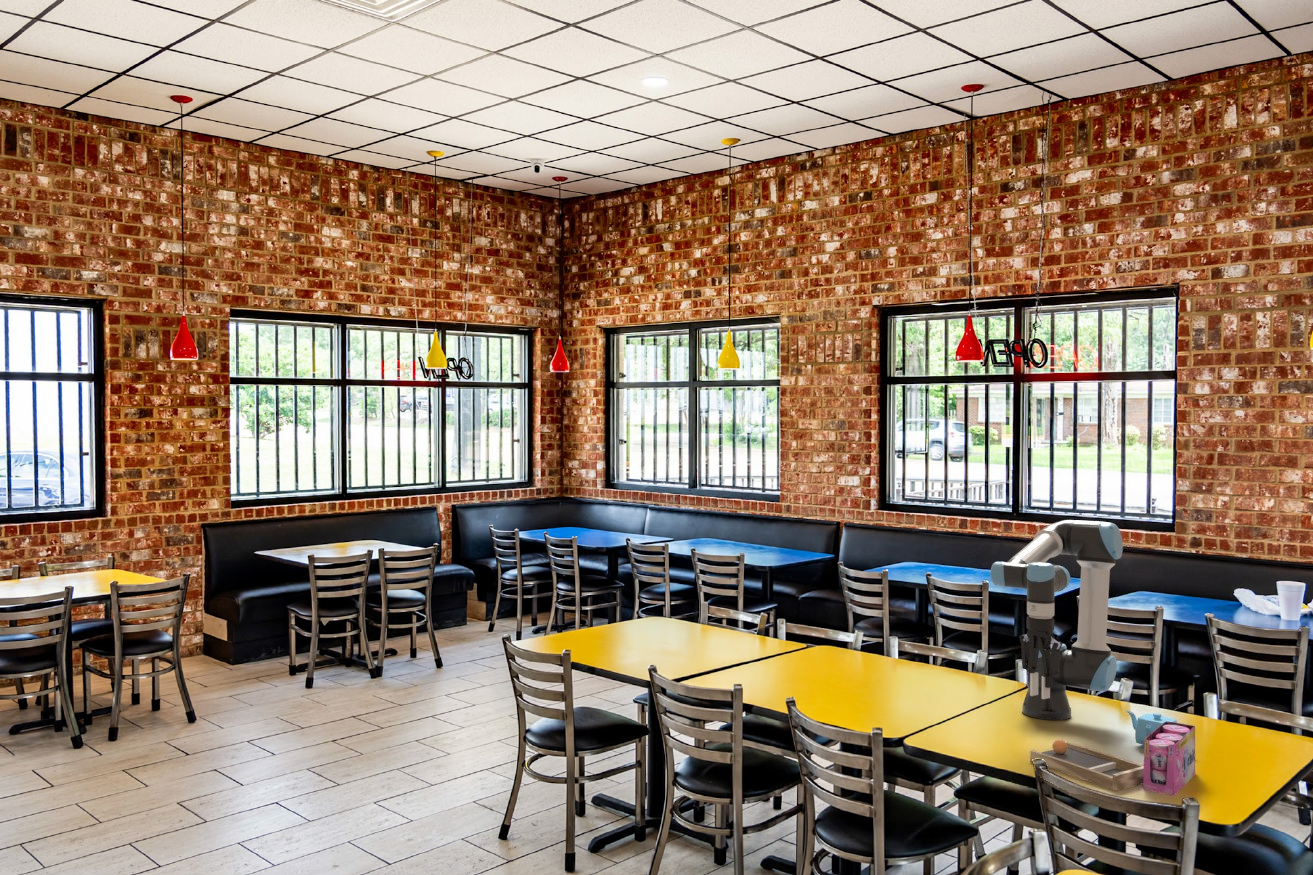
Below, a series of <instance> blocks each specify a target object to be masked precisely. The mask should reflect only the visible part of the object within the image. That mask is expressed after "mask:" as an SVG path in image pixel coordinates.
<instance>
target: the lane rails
mask: <svg viewBox="0 0 1313 875" xmlns="http://www.w3.org/2000/svg"><path fill="white" fill-rule="evenodd" d="M1065 742H1066V744H1067V747H1068V748H1071V749H1075V750H1078V751H1081V752H1084V753H1087V754H1090V755H1093V756H1097V757H1100V758H1103V759H1106V760H1109V761H1112V762H1115V763H1116V768H1117V769H1120V770H1124V771H1123V772H1120V773H1116V774H1113V776H1110V775H1107V774H1104V773H1101V772H1098V771H1095V770H1092V769H1089V768H1086V767H1083V766H1080V765H1077V764H1074V763H1071V762H1068V761H1065V760H1062V759H1058V758H1055V757H1052V756H1049V755H1046V754H1043V753H1041V752H1040V751H1037V750H1035V749H1033V750H1030V752H1029V753H1030V754H1029V755H1030V756H1029V757H1030V760H1029V761H1030V762H1031V761H1032V759H1035V758H1041V759H1044V760H1045V761H1046V763H1047V765H1048V767H1047V768H1049V769H1051V770H1054V771H1057V772H1061V773H1063V774H1066V775H1069V776H1072V777H1074V778H1078V779H1081V780H1084V781H1087V782H1088V783H1089V782H1090V783H1092V784H1096V785H1098V786H1101V787H1104V788H1106V789H1109V790H1112V791H1115V792H1118V791H1121V790H1125V789H1129V788H1132V787H1136V786H1138V785H1143V773H1144V764H1140V763H1137V762H1134V761H1130V760H1128V759H1124V758H1122V757H1117V756H1114V755H1111V754H1109V753H1106V752H1105V753H1104V752H1101V751H1098V750H1095V749H1092V748H1089V747H1086V746H1082V745H1080V744H1075V743H1073V742H1070V741H1065Z"/></svg>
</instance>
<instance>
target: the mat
mask: <svg viewBox="0 0 1313 875" xmlns="http://www.w3.org/2000/svg"><path fill="white" fill-rule="evenodd" d="M1040 753H1043V754H1046V755H1049V756H1052V757H1055V758H1058V759H1062V760H1065V761H1068V762H1071V763H1074V764H1077V765H1080V766H1083V767H1086V768H1089V769H1092V770H1095V771H1098V772H1101V773H1104V774H1107V775H1110V776H1113V774H1116V773H1120V772H1123V771H1124V770H1120V769H1117V768H1116V763H1115V762H1112V761H1109V760H1106V759H1103V758H1100V757H1097V756H1093V755H1090V754H1087V753H1084V752H1081V751H1078V750H1075V749H1071V748H1068V749H1067V751H1066V752H1065V753H1064V754H1058V753H1056V752H1055V751H1054V750H1053V749H1050V750H1046V751H1042V752H1040Z"/></svg>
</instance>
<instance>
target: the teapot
mask: <svg viewBox="0 0 1313 875" xmlns="http://www.w3.org/2000/svg"><path fill="white" fill-rule="evenodd" d="M1125 712H1126V713H1127V714H1129V716H1130V718H1131V724H1132V728H1133V729H1134V731H1135V734H1134V735H1135V736H1134V738H1135V742H1136V743H1137V744H1140V745H1142V746H1141V749H1144V744H1145V738H1146V737H1147V736H1149V735H1150V734H1151V733H1152V732H1154V731H1155V730H1156V729H1157V728H1158V727H1160V726H1161V725H1162V724H1163V723H1164V722H1166V721H1168V722H1175V723H1178V720H1177V719H1176V718H1173V717H1167V716H1164V715H1162V713H1159V712H1154V713H1146V714H1143V715H1140V716H1139V717H1136V714H1135V713H1134V712H1133V711H1130V710H1125Z"/></svg>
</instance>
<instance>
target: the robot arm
mask: <svg viewBox="0 0 1313 875" xmlns="http://www.w3.org/2000/svg"><path fill="white" fill-rule="evenodd" d="M1123 550H1124V544H1123V537H1122V533H1121V531H1120V528H1119V527H1118V526H1117V524H1115V523H1113V522H1107V521H1103V520H1102V521H1101V520H1100V521H1099V520H1098V521H1097V520H1095V521H1094V520H1081V519H1080V520H1079V519H1078V520H1074V519H1064V520H1063V519H1062V520H1060V521H1056V522H1054V523H1051V524H1048V525H1046V526H1045V527H1042V529H1040V530H1039V531H1037V532H1036V534H1035V535H1034V536H1033V540H1032V541H1030V542H1029V543H1028V544H1027V545H1025V546H1024V547H1023V548H1022V549H1021V550H1019V551H1018V552H1017V553H1016V554H1015V555H1013V556H1012V557H1011V558H1010V559H1009V560H1008V561H1007V562H1006V561H995V562H993V563H992V565H991V568H990V572H989V573H990V574H989V575H990V580H991V583H992V584H993V585H994V586H996V587H1003V588H1012V589H1020V590H1021V589H1024V590H1026V614H1027V617H1026V629H1027V632H1026V634H1020V635H1019V636H1018V639H1019V642H1020V648H1021V667H1022V669H1023V670H1026V671H1027V675H1028V676H1027V677H1028V678H1027V680H1028V682H1027V684H1028V685H1027V692H1026V695H1025V697H1024V700H1023V703H1022V713H1023V714H1024V715H1026V716H1029V717H1031V718H1035V719H1040V720H1049V721H1061V720H1067V719H1068V720H1069V719H1070V718H1071V717H1072V708H1071V706H1070V702H1069V698H1068V695H1067V693H1066V692H1067V691H1066V687H1069V688H1070V687H1071V688H1076V689H1077V688H1078V689H1083V690H1087V691H1088V690H1090V691H1092V692H1093V691H1097V692H1107V691H1108V690H1110V688H1112V685H1113V683H1114V680H1115V679H1116V674H1117V670H1118V669H1117V667H1118V663H1117V658H1116V657H1115V656H1114V655H1111V653H1112V650H1111V648H1110V647H1109V646H1108V644H1107V631H1108V630H1107V628H1108V609H1109V593H1110V592H1109V590H1110V573H1111V571H1110V570H1111V569H1112V568H1113V567H1114V566H1115V565H1116V560H1119V559H1121V558H1122V556H1123ZM1060 555H1068V556H1076V562H1077V564H1078V565H1079V566H1080V567H1081V568H1080V584H1079V585H1080V586H1079V602H1078V604H1079V605H1078V619H1077V620H1078V621H1077V623H1078V624H1077V636H1076V638H1077V640H1076V641H1075V642H1074V643H1073V644H1071V649H1067V645H1066V644H1065V643H1063V642H1061V641H1057V640H1056V639H1055V635H1054V634H1053V633H1054V630H1055V618H1054V616H1055V593H1057V592H1062V591H1063V590H1065V589H1066V588H1068V586H1069V585H1070V583H1071V575H1070V572H1069V570H1068V569H1067V568H1065V567H1064V566H1061V565H1058V564H1057V565H1056V564H1052V563H1049V562H1047V561H1048V560H1049V559H1051V558H1055V557H1057V556H1060Z"/></svg>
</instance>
